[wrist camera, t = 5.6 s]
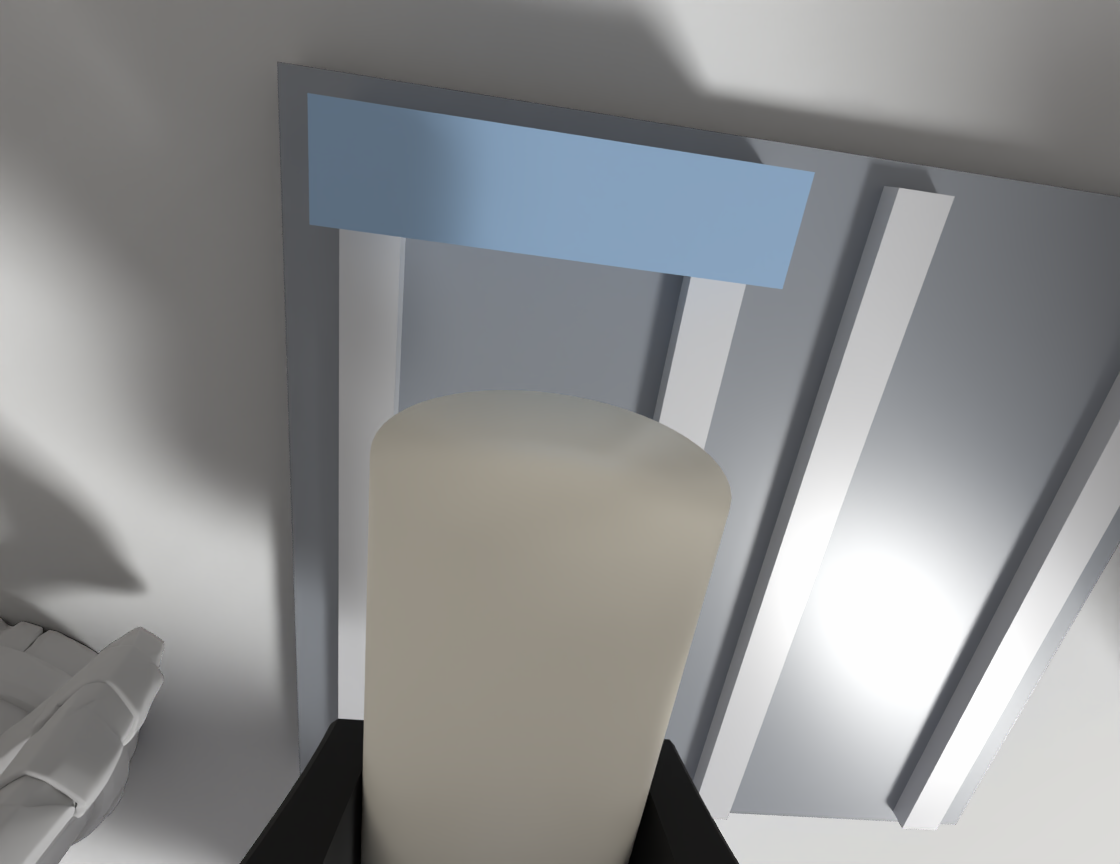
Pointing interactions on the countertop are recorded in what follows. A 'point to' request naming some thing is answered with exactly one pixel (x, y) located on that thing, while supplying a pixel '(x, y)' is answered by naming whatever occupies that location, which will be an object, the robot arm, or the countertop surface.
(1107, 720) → the countertop surface
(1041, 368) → the board
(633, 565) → the cream paper roll
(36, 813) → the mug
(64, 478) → the countertop surface
